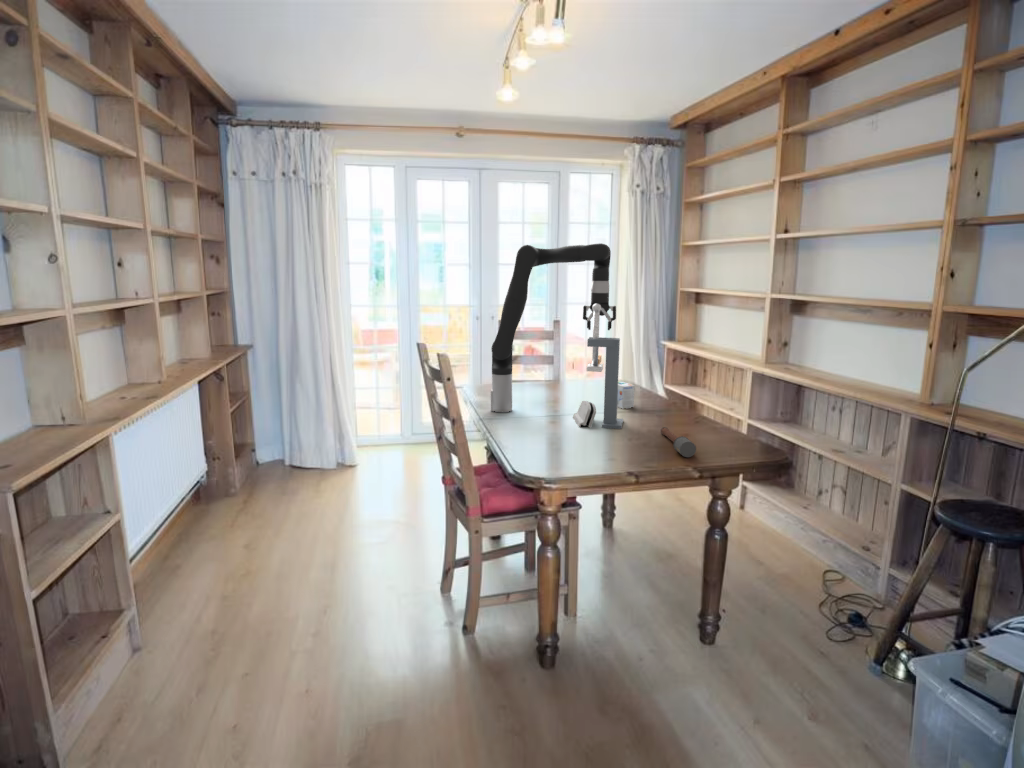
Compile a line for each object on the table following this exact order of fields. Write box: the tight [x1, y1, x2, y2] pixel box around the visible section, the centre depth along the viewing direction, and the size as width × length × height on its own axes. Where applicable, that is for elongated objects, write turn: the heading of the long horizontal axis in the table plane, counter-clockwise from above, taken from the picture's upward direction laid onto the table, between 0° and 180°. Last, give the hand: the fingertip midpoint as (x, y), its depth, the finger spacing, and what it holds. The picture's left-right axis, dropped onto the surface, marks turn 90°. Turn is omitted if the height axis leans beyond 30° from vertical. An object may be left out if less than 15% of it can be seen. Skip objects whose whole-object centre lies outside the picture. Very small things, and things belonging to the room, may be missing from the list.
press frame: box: [587, 336, 624, 430], centre depth 241 cm, size 15×12×36 cm
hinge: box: [572, 400, 597, 428], centre depth 247 cm, size 17×5×10 cm, turn 4°
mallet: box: [660, 426, 697, 458], centre depth 215 cm, size 6×6×30 cm
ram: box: [586, 303, 604, 373], centre depth 244 cm, size 6×20×27 cm, turn 167°
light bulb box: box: [617, 381, 636, 410], centre depth 276 cm, size 11×7×11 cm, turn 25°
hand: (599, 329), depth 252 cm, fingers open, 8 cm apart
